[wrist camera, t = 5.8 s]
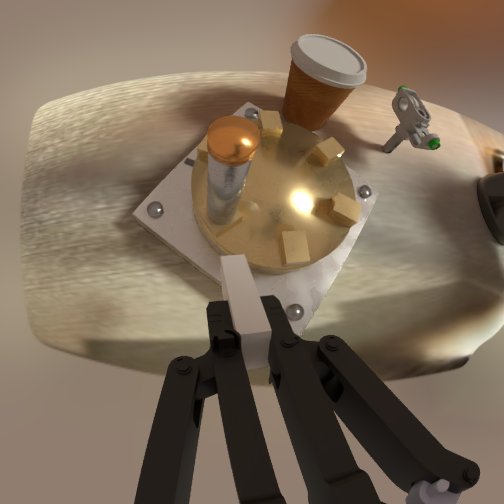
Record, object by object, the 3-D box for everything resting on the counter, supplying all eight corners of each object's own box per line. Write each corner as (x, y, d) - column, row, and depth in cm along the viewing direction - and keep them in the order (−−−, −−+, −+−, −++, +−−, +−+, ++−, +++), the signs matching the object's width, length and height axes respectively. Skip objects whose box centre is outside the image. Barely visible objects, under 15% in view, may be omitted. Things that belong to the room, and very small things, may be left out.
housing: (369, 200, 33) (381, 190, 30) (291, 336, 27) (300, 337, 24) (245, 114, 34) (248, 99, 31) (137, 222, 28) (131, 212, 25)
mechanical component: (391, 178, 35) (433, 141, 26) (367, 123, 38) (398, 82, 28) (405, 178, 36) (446, 144, 26) (381, 125, 38) (412, 87, 29)
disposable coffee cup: (257, 110, 34) (276, 41, 23) (295, 85, 37) (319, 27, 26) (312, 151, 34) (350, 87, 22) (344, 121, 37) (380, 66, 25)
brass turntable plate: (363, 191, 30) (437, 120, 17) (294, 307, 25) (384, 284, 12) (252, 115, 30) (278, 18, 17) (159, 208, 26) (127, 106, 12)
